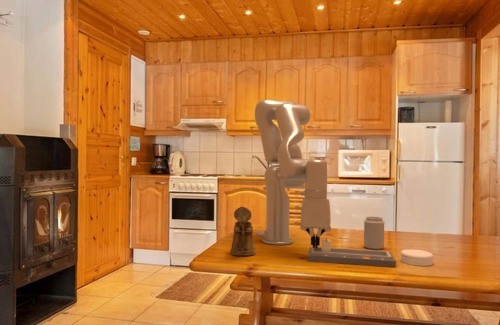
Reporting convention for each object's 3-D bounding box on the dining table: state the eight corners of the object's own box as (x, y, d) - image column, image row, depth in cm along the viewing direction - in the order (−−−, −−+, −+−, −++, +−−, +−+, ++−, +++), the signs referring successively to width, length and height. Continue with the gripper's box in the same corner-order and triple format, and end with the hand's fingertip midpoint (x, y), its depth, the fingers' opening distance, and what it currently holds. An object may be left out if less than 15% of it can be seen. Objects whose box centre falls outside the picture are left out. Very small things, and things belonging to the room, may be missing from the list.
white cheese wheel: (406, 257, 135) (406, 247, 135) (436, 262, 129) (436, 252, 129) (396, 263, 127) (396, 252, 127) (428, 268, 121) (428, 257, 121)
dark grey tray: (307, 261, 127) (307, 252, 127) (309, 252, 139) (309, 245, 139) (396, 267, 121) (396, 258, 121) (390, 258, 133) (390, 250, 133)
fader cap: (321, 253, 130) (321, 240, 130) (322, 250, 134) (322, 237, 134) (330, 253, 129) (330, 240, 129) (330, 250, 133) (330, 238, 133)
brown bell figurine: (227, 259, 127) (228, 206, 127) (231, 250, 141) (232, 201, 140) (254, 260, 127) (255, 206, 127) (255, 250, 140) (256, 202, 140)
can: (385, 250, 144) (385, 219, 144) (364, 249, 145) (365, 218, 145) (382, 246, 151) (382, 216, 151) (362, 245, 153) (363, 215, 153)
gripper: (293, 195, 130) (292, 248, 130) (338, 196, 127) (337, 251, 127) (295, 193, 137) (294, 243, 137) (337, 194, 134) (337, 246, 134)
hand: (315, 247), depth 132 cm, fingers closed
